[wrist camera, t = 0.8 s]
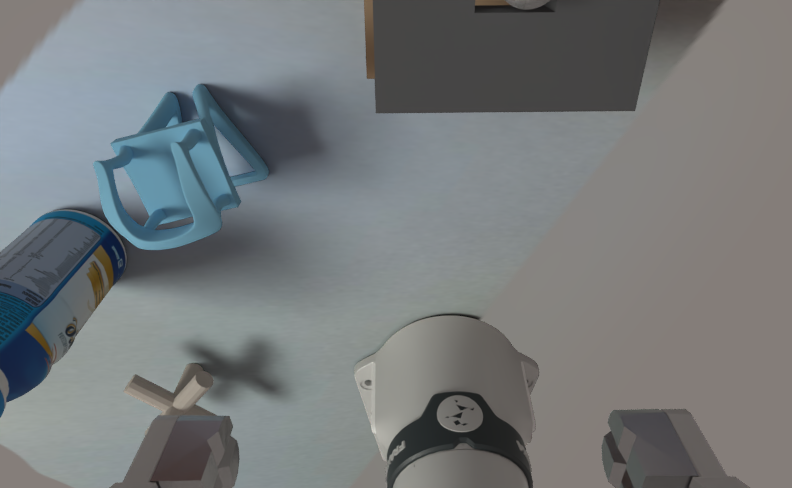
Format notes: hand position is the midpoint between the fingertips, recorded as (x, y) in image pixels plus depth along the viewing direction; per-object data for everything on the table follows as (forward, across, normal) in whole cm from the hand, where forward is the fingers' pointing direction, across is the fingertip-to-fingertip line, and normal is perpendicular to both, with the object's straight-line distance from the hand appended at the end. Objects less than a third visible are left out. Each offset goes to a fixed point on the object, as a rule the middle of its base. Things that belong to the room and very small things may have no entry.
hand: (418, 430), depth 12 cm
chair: (+33, +16, +6) cm, 37 cm away
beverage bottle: (+33, +29, +15) cm, 47 cm away
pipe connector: (+33, +22, +30) cm, 50 cm away
